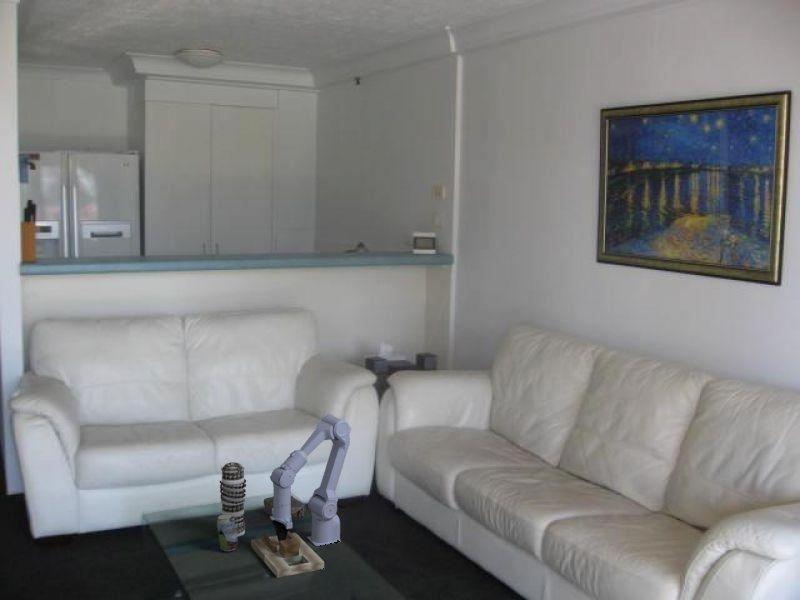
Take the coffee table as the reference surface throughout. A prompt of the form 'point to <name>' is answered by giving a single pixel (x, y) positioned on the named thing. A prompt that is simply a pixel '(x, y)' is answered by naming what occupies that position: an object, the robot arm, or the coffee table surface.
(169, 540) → the coffee table surface
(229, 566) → the coffee table surface
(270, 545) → the deck
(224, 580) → the coffee table surface
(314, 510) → the robot arm
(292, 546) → the block
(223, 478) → the decorative candle
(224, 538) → the beverage can
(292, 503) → the geological specimen
